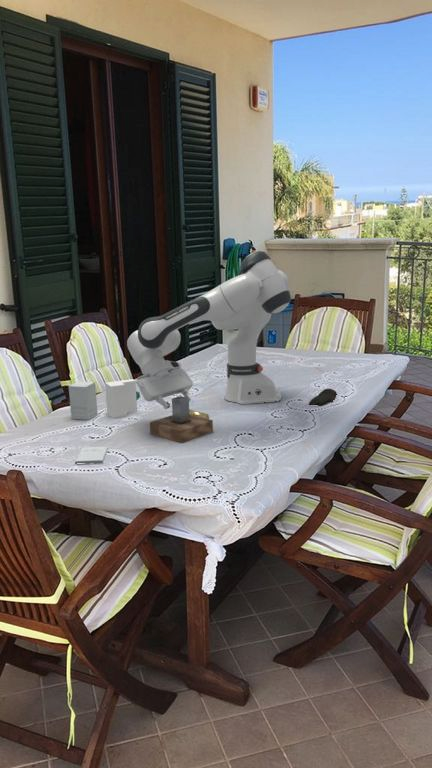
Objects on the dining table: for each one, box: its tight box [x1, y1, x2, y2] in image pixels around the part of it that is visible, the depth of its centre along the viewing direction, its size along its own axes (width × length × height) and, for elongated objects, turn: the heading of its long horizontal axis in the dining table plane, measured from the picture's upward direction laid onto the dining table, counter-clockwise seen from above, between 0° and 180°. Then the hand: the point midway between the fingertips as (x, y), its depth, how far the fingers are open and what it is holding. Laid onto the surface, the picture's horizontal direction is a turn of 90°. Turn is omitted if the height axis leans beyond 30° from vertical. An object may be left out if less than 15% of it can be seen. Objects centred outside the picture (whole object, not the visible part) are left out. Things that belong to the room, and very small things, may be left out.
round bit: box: [189, 408, 210, 419], centre depth 233 cm, size 10×4×4 cm, turn 47°
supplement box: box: [68, 381, 99, 421], centre depth 241 cm, size 7×7×13 cm
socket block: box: [149, 414, 214, 444], centre depth 221 cm, size 15×15×4 cm
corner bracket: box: [104, 378, 138, 419], centre depth 246 cm, size 11×11×12 cm
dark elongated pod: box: [308, 388, 338, 407], centre depth 257 cm, size 22×7×3 cm, turn 153°
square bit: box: [171, 395, 190, 425], centre depth 220 cm, size 4×4×12 cm
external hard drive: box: [74, 445, 109, 465], centre depth 201 cm, size 2×8×12 cm
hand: (178, 404), depth 220 cm, fingers open, 8 cm apart
